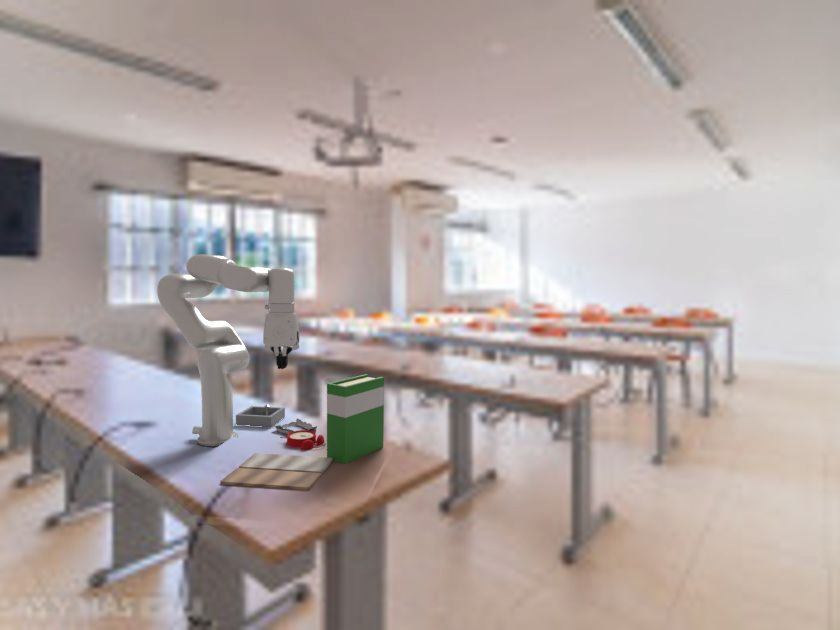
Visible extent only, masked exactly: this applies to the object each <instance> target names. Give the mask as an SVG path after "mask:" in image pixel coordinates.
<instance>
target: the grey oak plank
mask: <svg viewBox="0 0 840 630" xmlns="http://www.w3.org/2000/svg"><path fill="white" fill-rule="evenodd" d="M333 461H334V460H333V458H328V457H327V456H324V457H323V456H309V455H292V454H275V453H259V452H254V453H253V454H252V455H251V456H250V457H248V458H247V459H245V461H244V462H242V463H241V464H240V465H239V466H238V468H247V469H263V470H278V471H294V472H309V473H321V475H324V472H325V471H326V470H327V469H328V467H330V465H331V464H332V463H333Z"/></svg>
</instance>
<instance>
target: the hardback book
mask: <svg viewBox="0 0 840 630" xmlns="http://www.w3.org/2000/svg"><path fill="white" fill-rule="evenodd" d="M384 400H385V377H384V376H379V377H376V378H375V377H370V376H369V374H368V373H365V374H361V375H358V376H353V377H349V378H345V379H341V380H337V381H336V380H335V381H332V382H328V383H326V457H328V458H333V461H335V462H337V463H342V464H344V465H346V464H348V463H350V462H352V461H355V460H357V459H359V458H361V457H364V456H366V455H368V454H370V453H372V452H374V451H378V450H379V449H381V448H384V426H385V425H384V413H385V412H384V409H385V401H384Z"/></svg>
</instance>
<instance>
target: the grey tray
mask: <svg viewBox="0 0 840 630" xmlns="http://www.w3.org/2000/svg"><path fill="white" fill-rule="evenodd" d="M266 411H269V412H270V413H272V414H269V412H268V414H269V415H270V416H269V415H268V416H266V413H265V414H264V412H266ZM285 413H286V407H280V406H279V407H277V406H270V407H269V409H268V410H265V409H264V406H260V405H259V406H256V405H255V406H254V405H251V406H249V407H247V408H246V409H244V410H242V411H240V412H238V414H236V415H235V425H236V424H237V425H250V426H262V427H261V428H268V427H272V426H273V427H274V425H275V424H276V423H277V424H279V421H280V420H281V419H282V418H284V417H285V418H286V414H285ZM259 414H261V415H259ZM263 414H264V415H265V416H264V415H263ZM285 418H284V419H285ZM282 420H283V419H282ZM282 420H281V421H282ZM281 421H280V422H281ZM277 424H276V425H277ZM276 425H275V426H276ZM250 426H249V427H250ZM273 427H272V428H273Z"/></svg>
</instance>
